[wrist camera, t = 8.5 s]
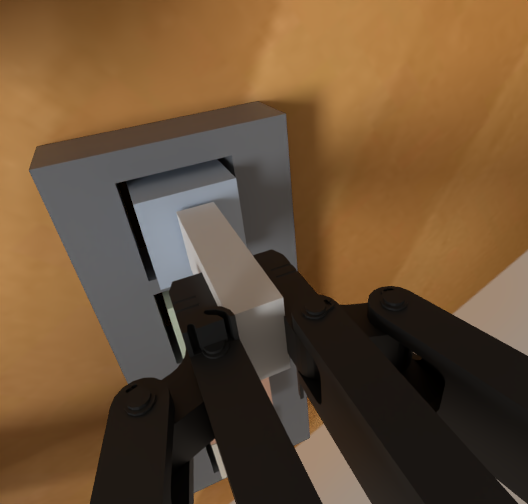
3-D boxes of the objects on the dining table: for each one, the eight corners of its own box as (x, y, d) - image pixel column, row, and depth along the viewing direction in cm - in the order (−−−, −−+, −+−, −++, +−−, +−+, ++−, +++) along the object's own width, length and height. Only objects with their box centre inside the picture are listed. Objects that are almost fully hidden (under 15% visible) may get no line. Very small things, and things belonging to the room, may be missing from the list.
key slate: (148, 249, 19) (160, 290, 16) (123, 173, 17) (132, 204, 14) (224, 227, 20) (249, 261, 17) (210, 152, 18) (235, 177, 15)
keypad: (172, 457, 29) (181, 498, 27) (36, 146, 16) (28, 170, 14) (291, 404, 32) (309, 437, 29) (257, 101, 19) (285, 113, 16)
